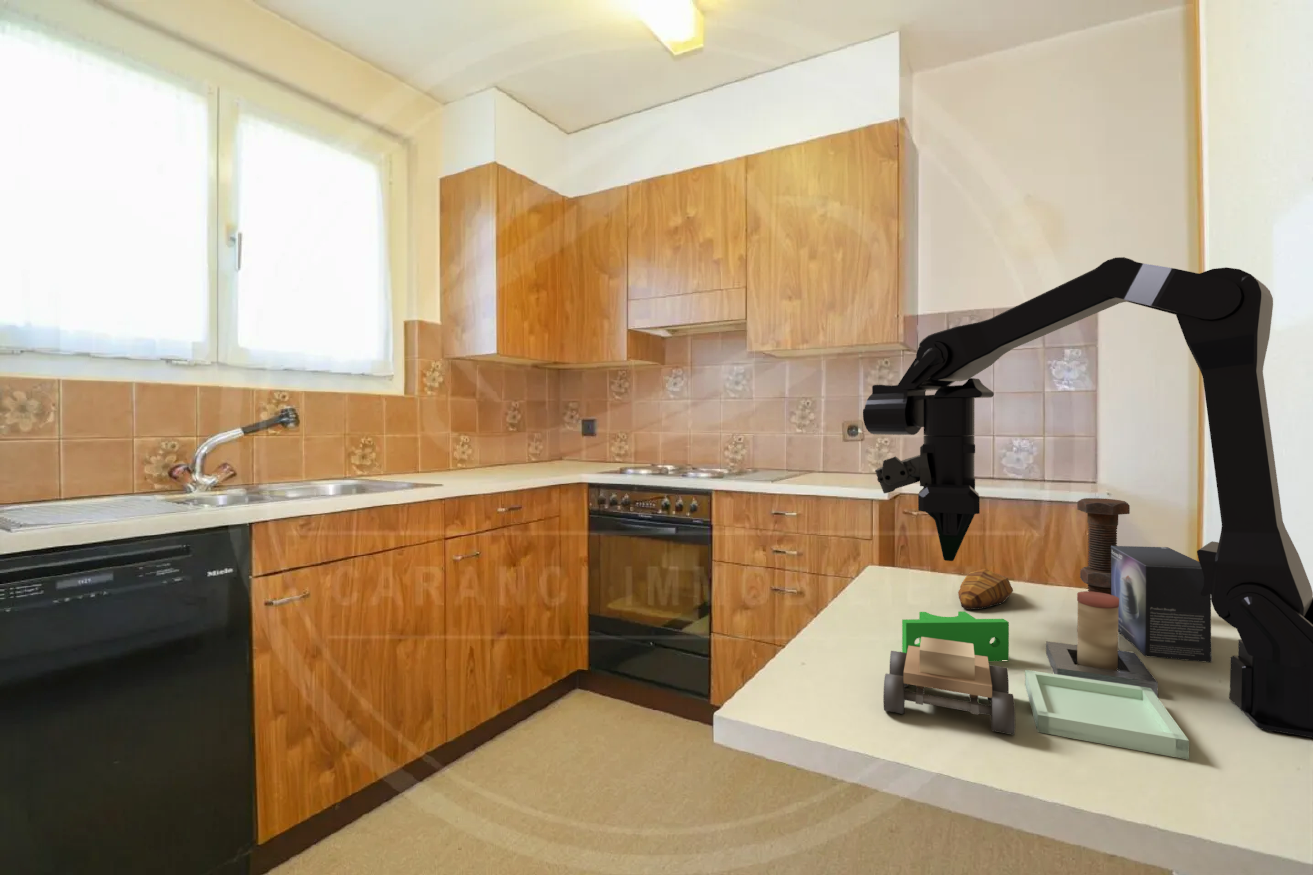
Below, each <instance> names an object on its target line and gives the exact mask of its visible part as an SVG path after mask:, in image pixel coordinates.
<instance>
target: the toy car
mask: <svg viewBox="0 0 1313 875" xmlns="http://www.w3.org/2000/svg"><path fill="white" fill-rule="evenodd" d="M883 679H884V680H883V697H882V698H883V703H882V704H883V711H885V712H890V713H896V714H899V715H900V714H901V715H904V714H905V704H906V701H909V702H914V703H915V704H917V705H924V704H925V705H931V706H937V707H941V708H947V709H952V710H953V709H954V710H958V711H959V710H960V711H965V712H970V714H973V715H979V714H982V715H988V716H990V726H991V731H992V732H997V733H1002V734H1008V735H1012V736H1014V735H1015V732H1016V711H1015V710H1016V709H1015V698H1014V694H1013V693H1010V691H1009V690H1010V688H1009V670H1008V667H1006V666H998V665H992V664H990V663H989V661H988V657H986V656H979V655H974V646H973V644H972V643H965V642H957V641H950V640H942V639H935V638H927V637H921V643H920V647H915V646H908V650H907V653H904V652H902V651H897V650H891V651H890V657H889V673H885V675H884V678H883ZM909 685H911V686H912V685H913V686H915V687H916V689H915V691H909V690H906V688H908V687H909ZM925 688H929V689H935V690H943V691H949V692H954V693H960V694H964V695H965V694H966V695H969V701H967V700H961V699H956V698H951V697H943V696H938V695H934V694H933V695H932V694H926V693H925ZM979 697H984V698H987V701H989V702H990V704H985V703H979Z"/></svg>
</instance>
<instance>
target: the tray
mask: <svg viewBox="0 0 1313 875" xmlns="http://www.w3.org/2000/svg"><path fill="white" fill-rule="evenodd" d="M1024 687H1025V690H1026V694H1027V698H1028V701H1029V705H1030V708H1031V712H1032V716H1033V720H1034V722H1035V727H1036V729H1037V733H1042V734H1046V735H1052V736H1057V737H1063V738H1069V739H1074V740H1078V741H1079V740H1080V741H1083V742H1084V741H1085V742H1090V743H1095V744H1102V745H1106V746H1113V747H1117V748H1123V749H1129V750H1134V751H1139V752H1144V753H1145V752H1146V753H1150V754H1156V755H1162V756H1167V757H1171V758H1172V757H1173V758H1177V759H1183V760H1190V740H1189V739H1188V737H1187V736H1186V735H1185V733H1184V731H1183V730H1182V729H1181V728H1180V726H1179V725H1178V723H1177V722H1176V720H1174V718H1173V717H1172V715H1171V714H1170V713H1169V711H1168V710H1167V708H1166V706H1164V704H1163V703H1162V701H1161V700H1160V698H1158V697H1159V696H1158V697H1157V696H1156V695H1155V693H1154V692H1153V690H1152V689H1151V688H1147V687H1140V686H1133V685H1126V684H1119V683H1112V682H1106V681H1099V680H1092V679H1085V678H1078V677H1071V676H1064V675H1058V674H1054V673H1050V672H1043V671H1035V670H1031V669H1025V670H1024Z"/></svg>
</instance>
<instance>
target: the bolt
mask: <svg viewBox="0 0 1313 875" xmlns="http://www.w3.org/2000/svg"><path fill="white" fill-rule="evenodd" d="M1130 507H1131V506H1130V505H1129V503H1128V502H1127V501H1125V500H1121V499H1113V498H1112V499H1111V498H1102V497H1101V498H1098V497H1092V498H1091V497H1089V498H1088V497H1084V498H1081V499H1079V500H1078V501H1077V508H1076V509H1077V510H1078V511H1080V512H1083V513H1085V514H1087V524H1088V525H1087V526H1088V527H1087V529H1088V530H1087V531H1088V532H1087V533H1088V538H1087V540H1088V541H1087V545H1088V547H1087V548H1088V549H1087V550H1088V553H1087V564H1088V565H1087V566H1084V567H1082V568H1081V569H1079V570H1080V571H1079V572H1080V573H1079V578H1080V580H1081V581H1082V582H1083V583H1084V584H1086V585H1087V591H1090V592H1100V593H1106V594H1110V595H1111V546H1118V545H1117V544H1118V525H1119V515H1120V516H1121V515H1129V514H1130V513H1131V512H1130V509H1131V508H1130Z"/></svg>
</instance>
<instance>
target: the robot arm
mask: <svg viewBox="0 0 1313 875" xmlns="http://www.w3.org/2000/svg"><path fill="white" fill-rule="evenodd" d="M1121 303H1131V304H1134V305H1138V306H1142V307H1146V308H1150V309H1152V310H1153V309H1154V310H1157V311H1160V312H1164V313H1168V314H1172V315H1175V316H1176V318H1177V321H1178V324H1179V327H1180V329H1181V332H1182V334H1183V338H1184V340H1185V343H1186V345H1187V347H1188V348H1189V351H1190V353H1191V355H1192V357H1193V358H1194V361H1195V363H1196V365H1197V368H1198V369H1199V371H1200V373H1201V376H1202V382H1203V387H1204V388H1203V390H1204V395H1205V396H1204V397H1205V403H1206V410H1207V411H1206V413H1207V421H1208V428H1209V435H1210V437H1209V438H1210V443H1211V452H1212V459H1213V467H1214V474H1215V481H1216V483H1215V484H1216V489H1217V490H1216V491H1217V499H1218V506H1219V514H1220V521H1221V530H1220V535H1219V540H1218V541H1210V542H1209V543H1206V544H1205V545H1204V546H1202V547H1201V548H1199V549H1198V550H1197V551H1196V554H1197V558H1198V561H1199V563H1200V565H1201V568H1202V571H1203V575H1204V586H1203V589H1202V591H1201V595H1202V596H1207V595H1209V594H1211V605H1212V607H1213V609H1214V611H1215V613H1216V614H1217V616H1218V617H1219V618H1220V619H1222V620H1224V621H1225V622H1226V623H1228V625H1230V626H1231V627H1232V628H1234V629H1236V631H1237V633H1238V635H1239V637H1240V639H1238V644H1237V645H1238V651H1237V652H1238V654H1237V655H1232V656H1231V657H1230V663H1229V664H1230V672H1229V675H1230V676H1229V695H1228V696H1229V697H1228V698H1229V700H1230V701H1231V702H1232V704H1234V705H1235V706H1236V707H1237V708H1238V709H1239V710H1240V711H1241V712H1242V713H1243V715H1244V716H1246V717H1247V718H1248V719H1249V720H1250V721H1251V722H1252V724H1254V726H1256V727H1257V728H1258V729H1261V730H1264V731H1270V732H1276V733H1282V734H1289V735H1293V736H1294V735H1295V736H1302V737H1307V738H1308V737H1309V738H1313V589H1312V586H1311V583H1310V580H1309V578H1308V575H1307V573H1306V570H1305V567H1304V565H1303V562H1302V560H1301V557H1300V554H1299V553H1298V550H1297V549H1296V547H1295V545H1294V542H1293V540H1292V539H1291V536H1290V534H1289V532H1288V531H1287V528H1286V526H1285V524H1284V521H1283V520H1284V519H1283V513H1282V505H1281V497H1280V489H1279V483H1278V477H1277V476H1278V474H1277V468H1276V461H1275V454H1274V453H1275V452H1274V445H1273V438H1272V437H1273V436H1272V431H1271V424H1270V415H1269V408H1268V402H1267V401H1268V400H1267V394H1266V385H1265V378H1264V365H1265V360H1266V356H1267V355H1266V354H1267V350H1268V346H1269V341H1270V337H1271V335H1270V334H1271V326H1272V317H1273V308H1274V297H1273V295H1272V293H1271V291H1270V289H1269V288H1268V287H1267V286H1266V285H1265V284H1264V283H1262V281H1260V280H1259V279H1257V278H1256V277H1255V276H1254V275H1252V274H1250V273H1249V272H1247V271H1244V270H1242V269H1240V268H1234V267H1233V268H1232V267H1226V266H1225V267H1218V268H1217V267H1216V268H1210V269H1209V270H1205V271H1203V272H1200V273H1198V272H1194V271H1188V270H1183V269H1180V268H1173V267H1168V266H1160V265H1155V264H1149V263H1143V262H1138V261H1135V260H1133V259H1131V258H1127V257H1125V256H1123V257H1122V256H1121V257H1117V256H1116V257H1113V258H1110V259H1107V260H1105V261H1104V262H1102V263H1101V264H1099V265H1098V266H1097V267H1096V268H1094V269H1092V270H1090V271H1088V272H1085V273H1083V274H1080V275H1079V276H1077V277H1075V278H1072V279H1070V280H1068V281H1066V282H1064V283H1063V284H1060V285H1057V286H1056V287H1054V288H1051V289H1049V290H1048V291H1045V292H1044V293H1041V294H1039V295H1037V296H1035V297H1033V298H1031V299H1028V300H1027V301H1025V302H1022V303H1019V304H1018V305H1016V306H1014V307H1012V308H1010V309H1008V310H1006V311H1003V312H1002V313H1001V312H1000V313H999V314H997V315H996V316H993V317H991V318H989V319H986V320H982V321H978V322H974V323H968V324H964V325H958V326H955V327H951V328H947V329H944V330H942V331H938V332H935V333H931V334H929V335H927V336H926V337H925V338H923V339H922V340H921V341H920V342H919V343H918V348H917V351H916V356H915V358H914V360H913V361H912V363H911V364H910V366H909V367H908V368H907V370H906V372H905V374H903V376H902V377H901V379H900V381H899V382H898V384H894V385H890V384H873V385H872V387H871V388H872V389H871V394H870V395H869V396H868V398H867V400H866V401H865V405H864V408H863V409H862V419H863V425H864V427H865V429H866V430H867V431H868V433H870V434H871V435H878V436H879V435H880V436H881V435H891V436H894V435H897V436H904V435H905V436H914V435H916V434H918V432H920V430H921V429H922V428H923V443H922V445H921V446H920V447H919V454H917V455H916V456H912V457H908V458H905V459H902V460H901V459H899V457H897V456H893V457H891V458H890V457H889V458H887V459H884V460H882V466H881V467H878V468H877V469H875V470H874V472H875V475H876V479H877V481H878V483H879V485H880V487H881V489H882V490H881V491H882V492H883V494H888V493H891V492H894V491H896V489H900V488H902V487H906V486H909V485H912V484H917V483H919V486H920V487H922V488H921V490H919V491H918V494H917V496H918V498H917V500H918V502H917V509H918V510H917V511H919V512H925V513H926V514H928V516H930V517H931V518H932V519H933V521H935V522H934V523H935V527H936V531H937V534H938V535H937V536H938V540H939V545H940V549H941V553H942V557H943V560H944V561H946V562H954V560H955V558H956V557H957V554H958V552H959V550H960V547H961V545H962V543H963V541H964V538H965V536H966V535H967V532H968V530H969V528H970V525H971V524H972V521H973V519H974V517H975V515H979V514H980V513H981V512H980V507H981V506H980V502H981V501H980V494H979V492H978V491H976V477H975V453H976V444H975V405H976V404H975V403H976V402H975V399H983V398H988V399H989V398H993V397H994V395H995V393H994V391H992V390H991V389H989V388H988V387H987V386H985V385H984V384H983V383H982V381H981V380H980V379H979V378H974V377H975V376H976V375H978V374H979V373H981V372H983V371H985V370H986V369H987V368H989V367H991V366H993V364H995V363H996V361H998V360H999V359H1000V358H1001V357H1003V356H1004V355H1005V354H1006V353H1009V352H1010V351H1011V350H1013V349H1015V348H1018V347H1020V346H1022V345H1023V346H1024V345H1025V344H1026V343H1027V344H1028V343H1029V342H1032V341H1034V340H1038V339H1040V338H1042V337H1044V336H1046V335H1048V334H1050V333H1053V332H1055V331H1058V330H1061V329H1062V328H1065V327H1068V326H1070V325H1073V324H1074V323H1076V322H1079V321H1081V320H1084V319H1086V318H1088V317H1091V316H1093V315H1095V314H1097V313H1100V312H1103V311H1104V310H1105V311H1106V310H1107V309H1109V308H1110V309H1111V308H1112V307H1114V306H1116V305H1118V304H1121ZM963 381H965V383H964V384H959V385H957V384H956V385H952V384H953V383H955V382H963ZM927 391H935V393H934V394H927V395H926V392H927Z"/></svg>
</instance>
